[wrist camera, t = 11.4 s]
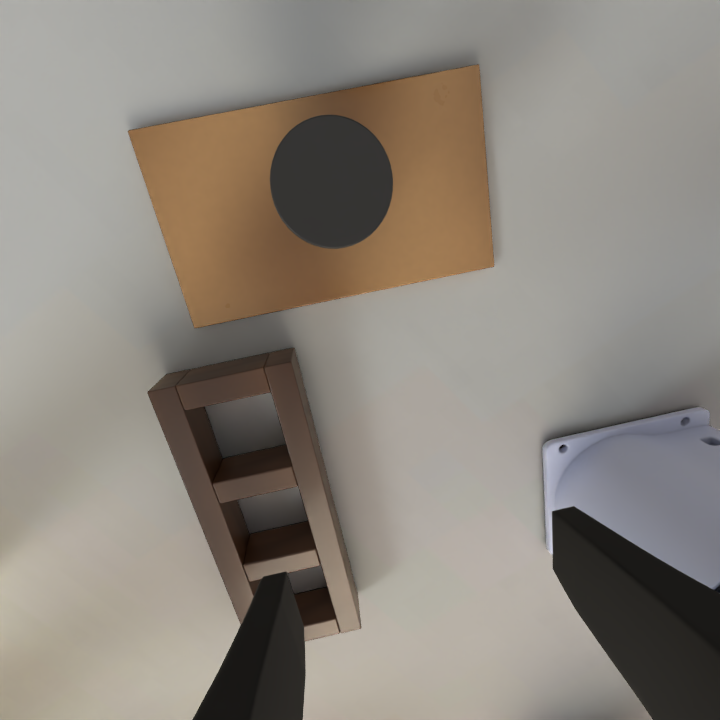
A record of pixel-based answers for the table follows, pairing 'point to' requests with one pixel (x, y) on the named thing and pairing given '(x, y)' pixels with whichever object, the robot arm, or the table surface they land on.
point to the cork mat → (270, 234)
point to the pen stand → (260, 486)
